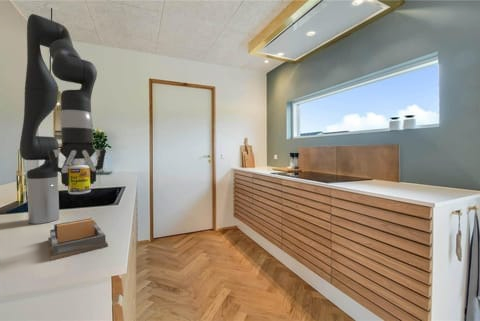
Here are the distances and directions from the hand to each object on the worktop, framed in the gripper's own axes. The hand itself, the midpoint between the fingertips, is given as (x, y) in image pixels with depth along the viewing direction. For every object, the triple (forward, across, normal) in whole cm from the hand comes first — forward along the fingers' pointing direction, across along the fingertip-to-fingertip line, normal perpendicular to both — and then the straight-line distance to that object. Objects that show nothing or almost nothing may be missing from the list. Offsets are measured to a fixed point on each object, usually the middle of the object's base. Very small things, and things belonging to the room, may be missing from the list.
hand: (79, 184), depth 67 cm
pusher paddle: (+17, +1, -3) cm, 17 cm away
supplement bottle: (+3, 0, 0) cm, 3 cm away
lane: (+18, +1, -2) cm, 18 cm away
